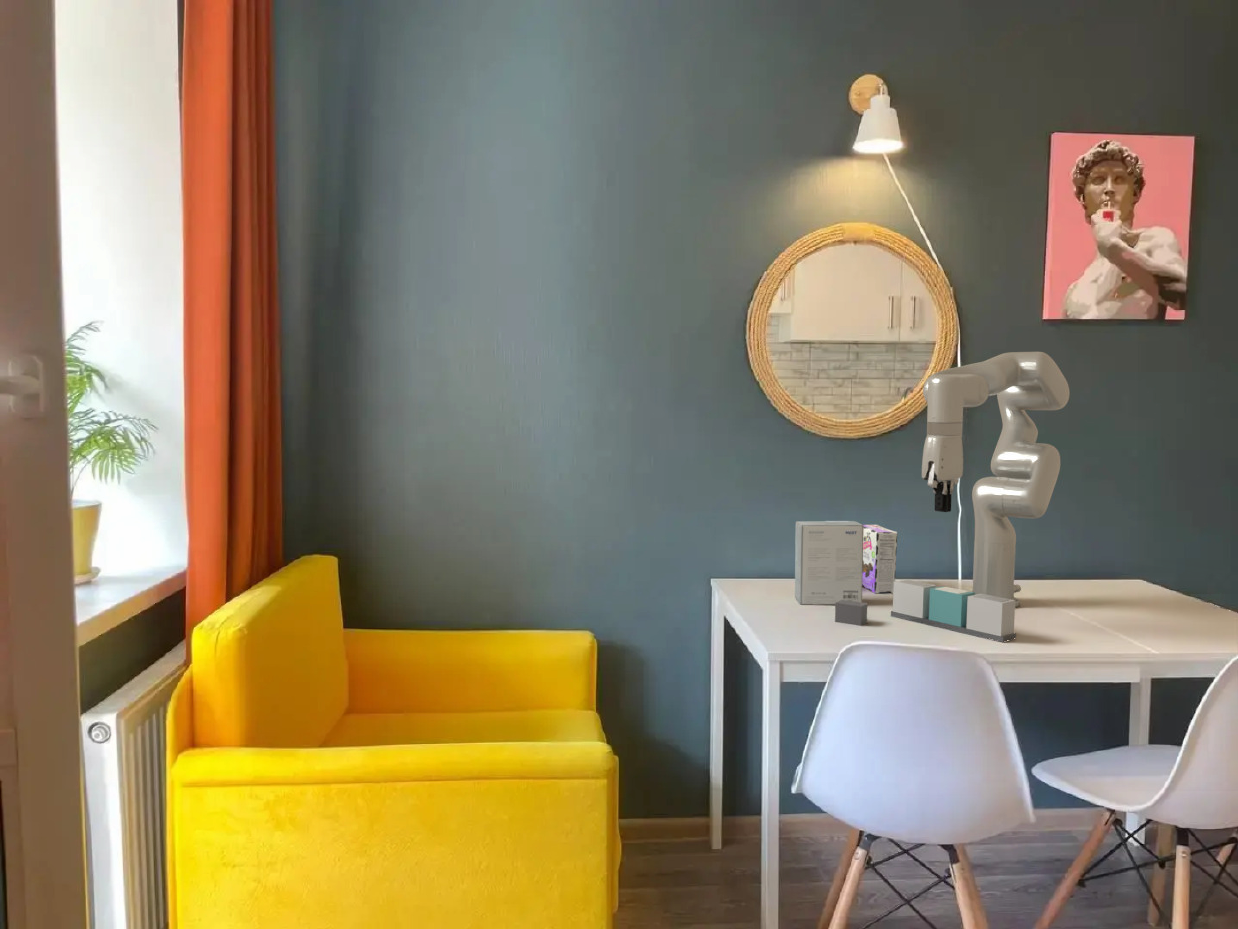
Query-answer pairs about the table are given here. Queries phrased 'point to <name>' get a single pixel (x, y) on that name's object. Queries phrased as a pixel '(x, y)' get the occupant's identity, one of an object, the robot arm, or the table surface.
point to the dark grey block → (851, 612)
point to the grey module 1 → (912, 598)
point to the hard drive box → (828, 561)
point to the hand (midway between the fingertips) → (942, 511)
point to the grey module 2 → (990, 614)
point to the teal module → (949, 605)
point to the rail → (953, 627)
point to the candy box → (879, 558)
